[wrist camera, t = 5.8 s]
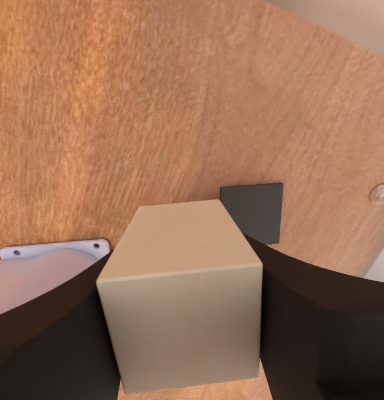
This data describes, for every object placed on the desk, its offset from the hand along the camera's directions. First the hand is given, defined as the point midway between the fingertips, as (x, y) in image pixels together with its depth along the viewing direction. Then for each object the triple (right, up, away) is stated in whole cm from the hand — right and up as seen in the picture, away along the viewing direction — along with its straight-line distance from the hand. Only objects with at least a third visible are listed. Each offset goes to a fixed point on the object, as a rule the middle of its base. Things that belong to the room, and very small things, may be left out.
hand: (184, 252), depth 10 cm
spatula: (+3, +1, +9) cm, 9 cm away
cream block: (0, 0, +1) cm, 1 cm away
